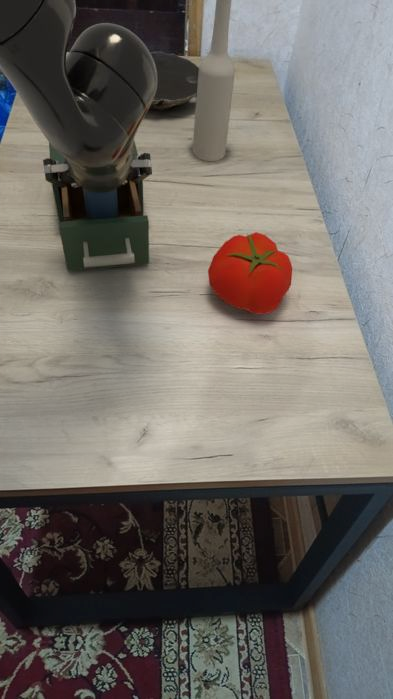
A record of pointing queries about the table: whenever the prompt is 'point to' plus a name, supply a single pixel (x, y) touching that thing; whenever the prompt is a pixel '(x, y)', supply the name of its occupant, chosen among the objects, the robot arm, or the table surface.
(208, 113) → the bottle
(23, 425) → the table surface
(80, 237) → the drawer
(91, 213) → the plastic container
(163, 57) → the rough clay dish
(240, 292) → the tomato
